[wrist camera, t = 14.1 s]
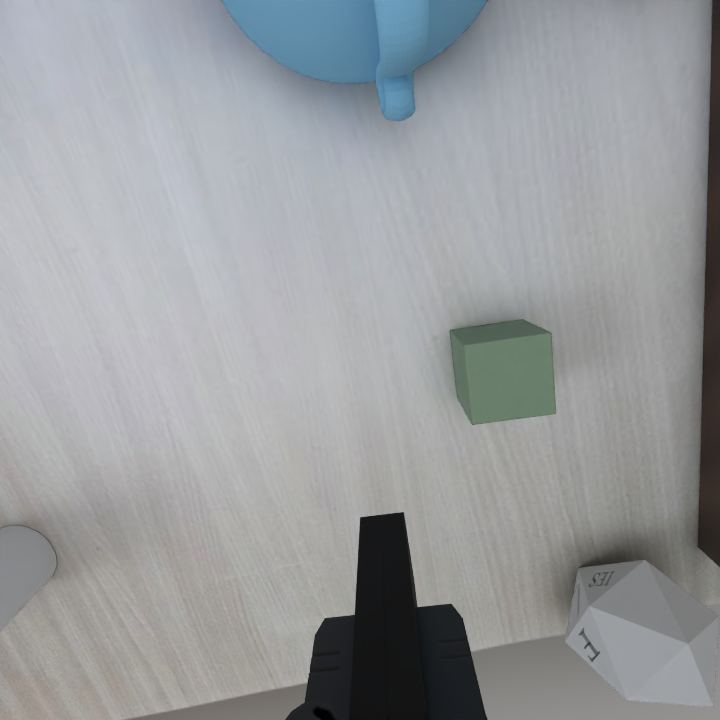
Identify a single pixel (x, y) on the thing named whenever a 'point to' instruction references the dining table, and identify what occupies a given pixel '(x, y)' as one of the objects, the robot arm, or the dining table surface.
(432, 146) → the dining table surface
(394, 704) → the robot arm
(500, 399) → the sage block
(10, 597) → the white cup
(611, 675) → the die
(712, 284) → the rail
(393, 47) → the teapot
